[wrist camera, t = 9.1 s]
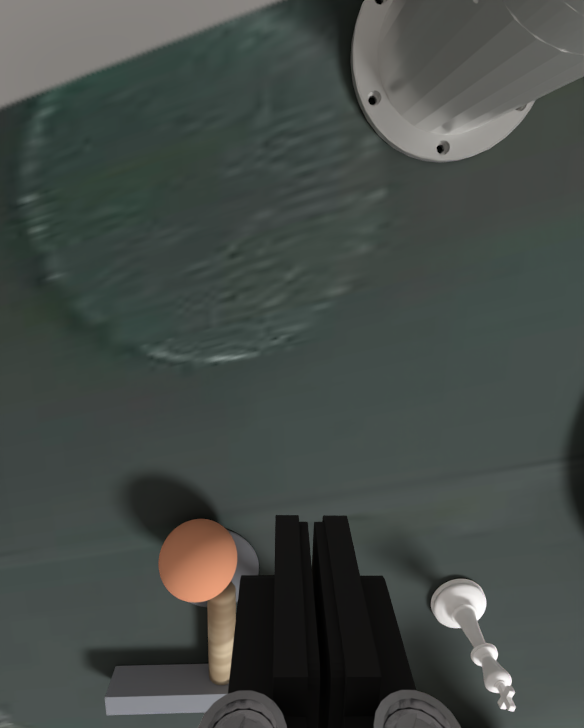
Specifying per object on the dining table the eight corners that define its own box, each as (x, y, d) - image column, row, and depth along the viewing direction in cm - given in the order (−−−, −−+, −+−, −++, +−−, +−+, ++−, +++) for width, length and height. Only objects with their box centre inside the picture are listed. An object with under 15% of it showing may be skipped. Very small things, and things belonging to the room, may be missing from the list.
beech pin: (218, 605, 38) (219, 690, 41) (241, 590, 40) (241, 673, 42) (201, 589, 40) (203, 672, 42) (224, 575, 41) (224, 656, 44)
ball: (155, 611, 36) (175, 538, 41) (231, 619, 36) (244, 545, 41) (141, 576, 32) (166, 500, 37) (227, 585, 32) (241, 507, 37)
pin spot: (162, 527, 39) (162, 529, 39) (259, 526, 39) (259, 528, 39) (167, 606, 41) (167, 608, 41) (258, 604, 42) (258, 606, 41)
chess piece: (422, 616, 43) (467, 728, 33) (442, 573, 42) (494, 676, 32) (471, 627, 44) (528, 740, 34) (492, 584, 42) (558, 688, 33)
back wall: (115, 665, 43) (104, 697, 40) (312, 660, 44) (315, 691, 41) (117, 682, 43) (106, 715, 40) (311, 677, 44) (314, 708, 41)
